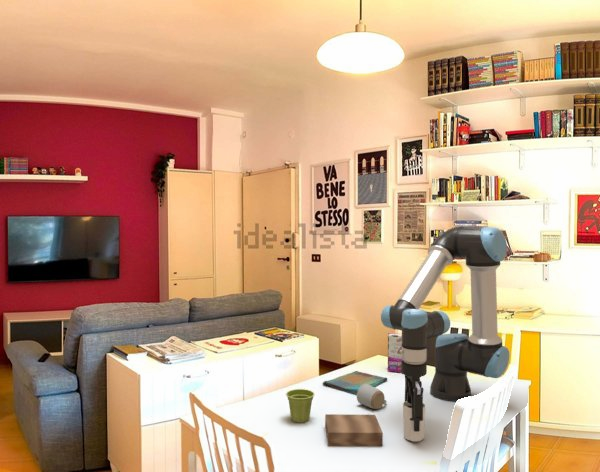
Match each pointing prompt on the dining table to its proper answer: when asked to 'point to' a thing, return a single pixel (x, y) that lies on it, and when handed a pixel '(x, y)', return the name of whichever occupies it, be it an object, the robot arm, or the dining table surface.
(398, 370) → the candy bar box
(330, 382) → the dish towel
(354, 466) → the dining table surface
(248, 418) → the dining table surface
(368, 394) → the ceramic mug
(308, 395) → the plant pot
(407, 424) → the beige hollow cylinder
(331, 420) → the walnut riser block
